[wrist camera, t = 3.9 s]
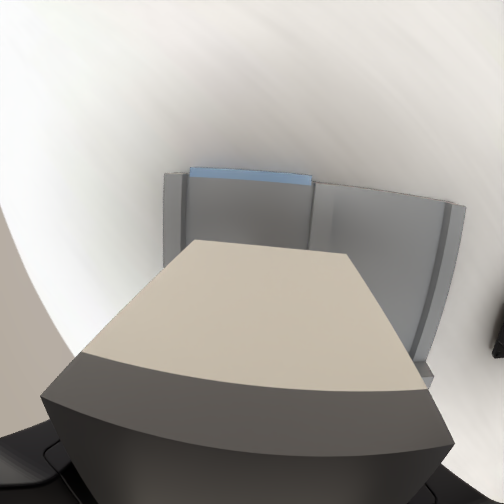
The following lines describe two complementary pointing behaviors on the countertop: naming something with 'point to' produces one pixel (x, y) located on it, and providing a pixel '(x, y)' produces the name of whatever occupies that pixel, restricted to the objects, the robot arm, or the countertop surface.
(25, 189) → the countertop surface
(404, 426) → the beige grey-topped box
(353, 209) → the blue-trimmed grey tray
